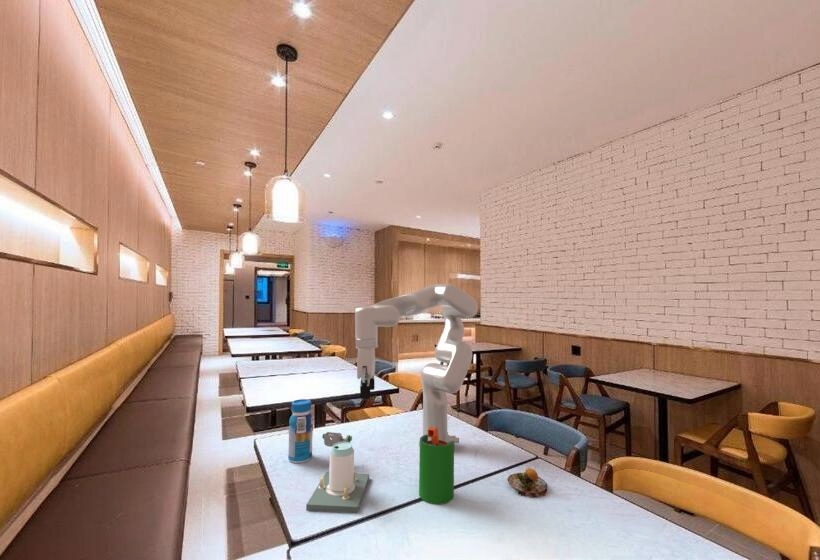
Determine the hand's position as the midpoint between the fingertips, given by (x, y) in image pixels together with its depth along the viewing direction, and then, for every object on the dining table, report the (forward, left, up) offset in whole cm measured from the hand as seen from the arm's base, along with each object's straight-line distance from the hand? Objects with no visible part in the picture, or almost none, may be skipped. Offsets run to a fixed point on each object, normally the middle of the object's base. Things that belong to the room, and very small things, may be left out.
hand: (367, 393), depth 121 cm
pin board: (+5, +15, -25) cm, 30 cm away
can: (+5, +15, -24) cm, 28 cm away
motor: (-23, +14, -25) cm, 37 cm away
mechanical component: (+11, -3, -25) cm, 28 cm away
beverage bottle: (+25, -6, -25) cm, 36 cm away
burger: (-51, +7, -26) cm, 57 cm away
